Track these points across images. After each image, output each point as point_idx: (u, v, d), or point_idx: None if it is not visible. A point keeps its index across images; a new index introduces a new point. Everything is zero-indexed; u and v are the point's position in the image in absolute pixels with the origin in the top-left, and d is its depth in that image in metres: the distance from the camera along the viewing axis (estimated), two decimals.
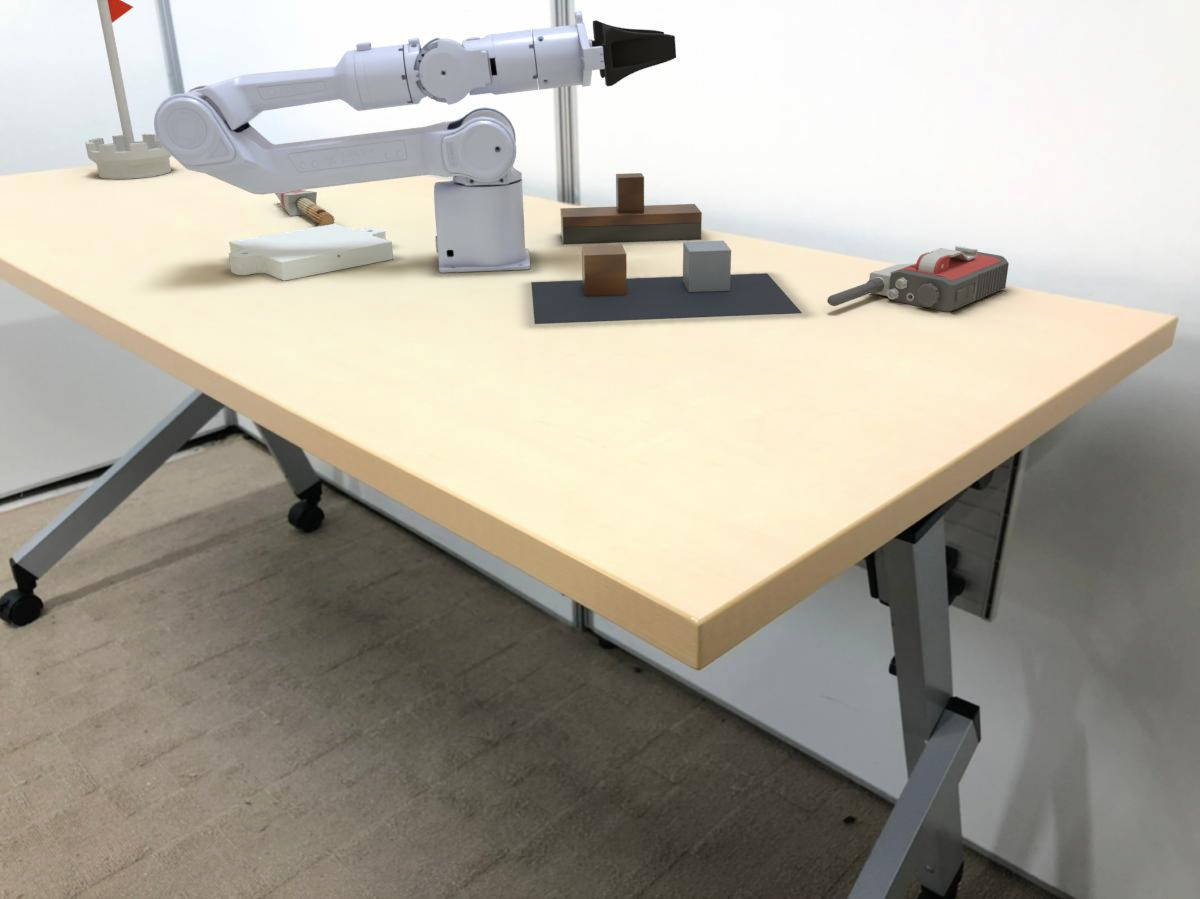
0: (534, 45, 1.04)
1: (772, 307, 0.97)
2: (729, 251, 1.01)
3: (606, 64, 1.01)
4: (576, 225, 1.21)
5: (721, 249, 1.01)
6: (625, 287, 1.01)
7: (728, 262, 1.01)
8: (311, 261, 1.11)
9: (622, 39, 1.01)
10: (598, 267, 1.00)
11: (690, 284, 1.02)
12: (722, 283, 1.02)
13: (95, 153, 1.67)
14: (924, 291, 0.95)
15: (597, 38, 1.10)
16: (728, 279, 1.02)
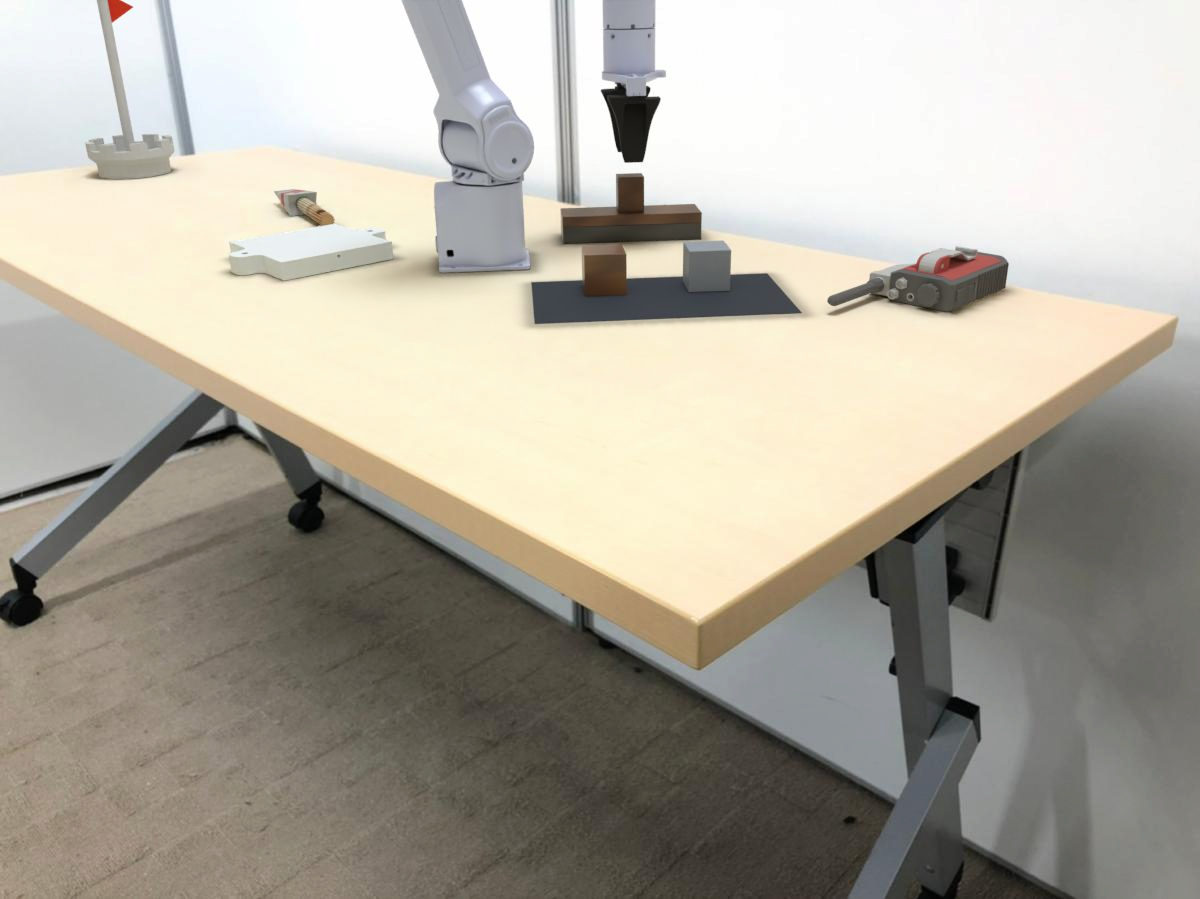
0: (645, 29, 1.13)
1: (772, 307, 0.97)
2: (729, 251, 1.01)
3: (628, 97, 1.12)
4: (576, 225, 1.21)
5: (721, 249, 1.01)
6: (625, 287, 1.01)
7: (728, 262, 1.01)
8: (311, 261, 1.11)
9: (647, 114, 1.14)
10: (598, 267, 1.00)
11: (690, 284, 1.02)
12: (722, 283, 1.02)
13: (95, 153, 1.67)
14: (924, 291, 0.95)
15: None
16: (728, 279, 1.02)
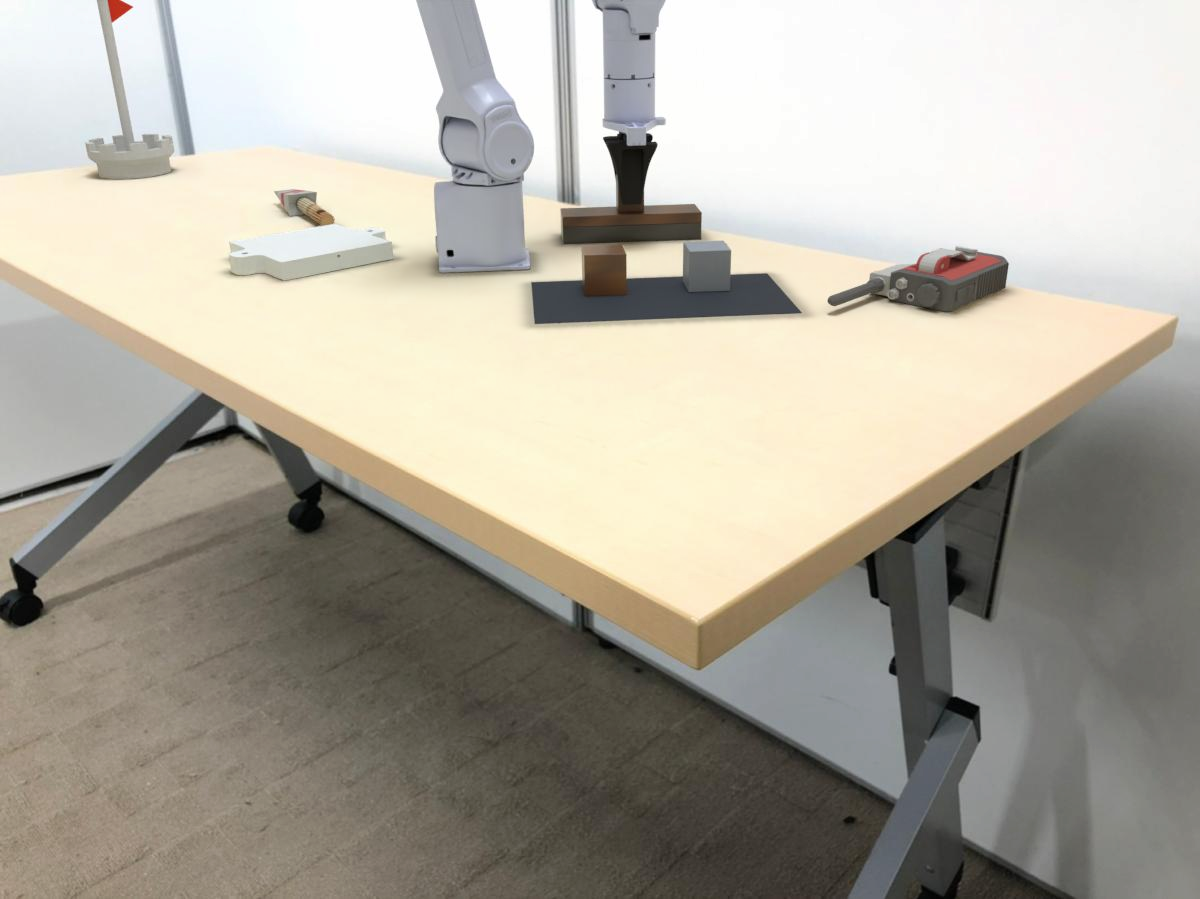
0: (645, 79, 1.15)
1: (772, 307, 0.97)
2: (729, 251, 1.01)
3: (626, 143, 1.16)
4: (576, 225, 1.21)
5: (721, 249, 1.01)
6: (625, 287, 1.01)
7: (728, 262, 1.01)
8: (311, 261, 1.11)
9: (644, 159, 1.18)
10: (598, 267, 1.00)
11: (690, 284, 1.02)
12: (722, 283, 1.02)
13: (95, 153, 1.67)
14: (924, 291, 0.95)
15: None
16: (728, 279, 1.02)
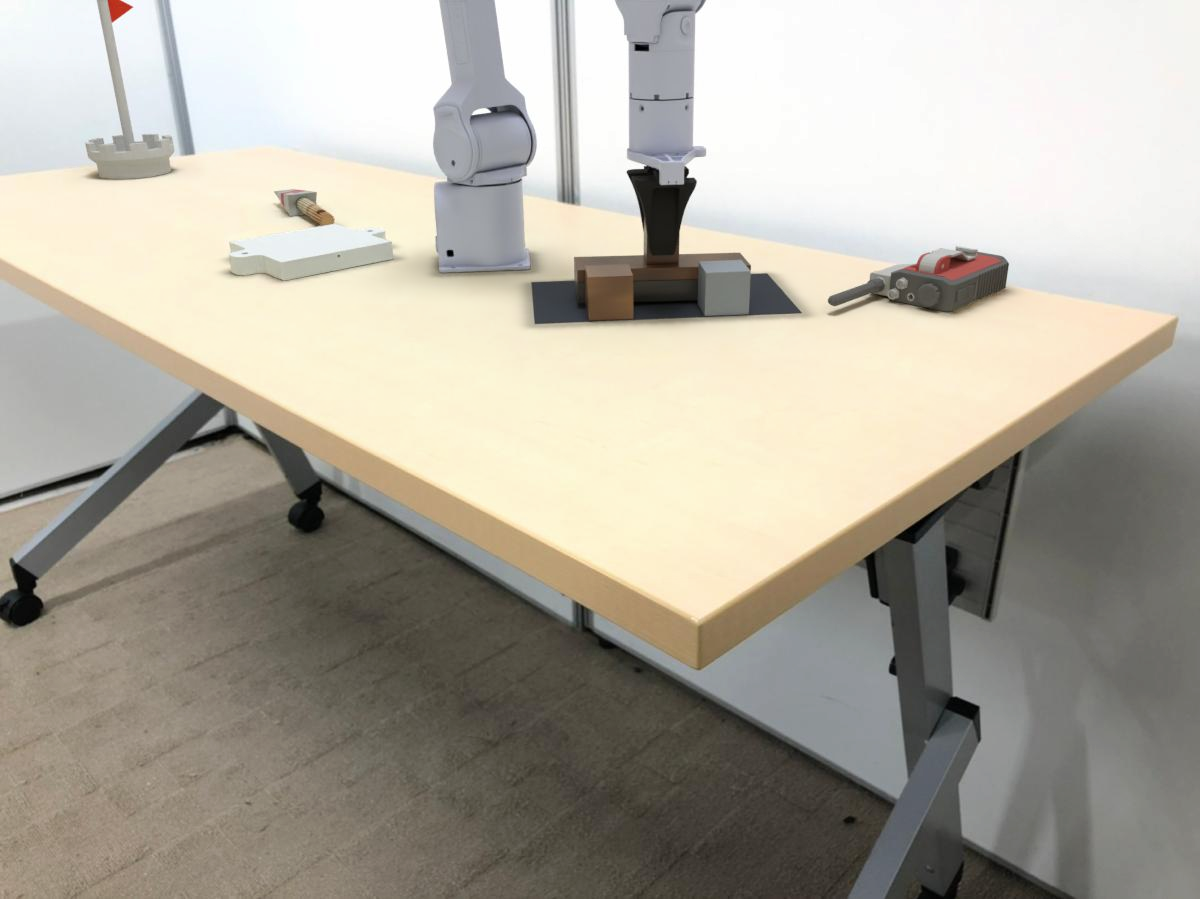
0: (682, 99, 0.91)
1: (772, 307, 0.97)
2: (748, 272, 0.93)
3: (658, 181, 0.92)
4: None
5: (740, 270, 0.94)
6: (632, 311, 0.94)
7: (747, 284, 0.94)
8: (311, 261, 1.11)
9: (680, 199, 0.94)
10: (603, 289, 0.93)
11: (706, 307, 0.94)
12: (741, 307, 0.95)
13: (95, 153, 1.67)
14: (925, 291, 0.95)
15: None
16: (747, 302, 0.95)
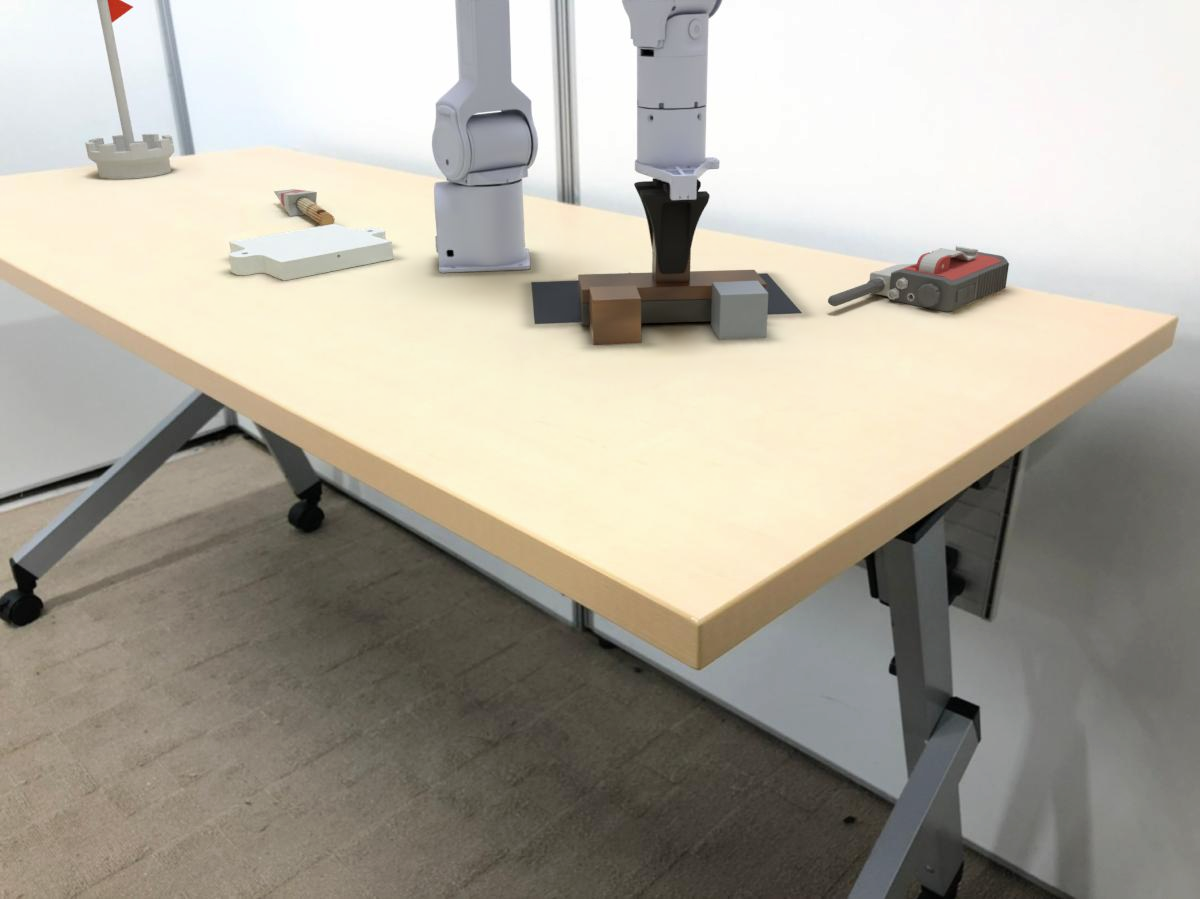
0: (694, 108, 0.85)
1: (772, 307, 0.97)
2: (766, 294, 0.88)
3: (668, 195, 0.86)
4: None
5: (757, 292, 0.88)
6: (639, 336, 0.88)
7: (765, 307, 0.88)
8: (311, 261, 1.11)
9: (691, 215, 0.88)
10: (609, 313, 0.87)
11: (721, 332, 0.89)
12: (757, 331, 0.89)
13: (95, 153, 1.67)
14: (925, 291, 0.95)
15: None
16: (764, 326, 0.89)
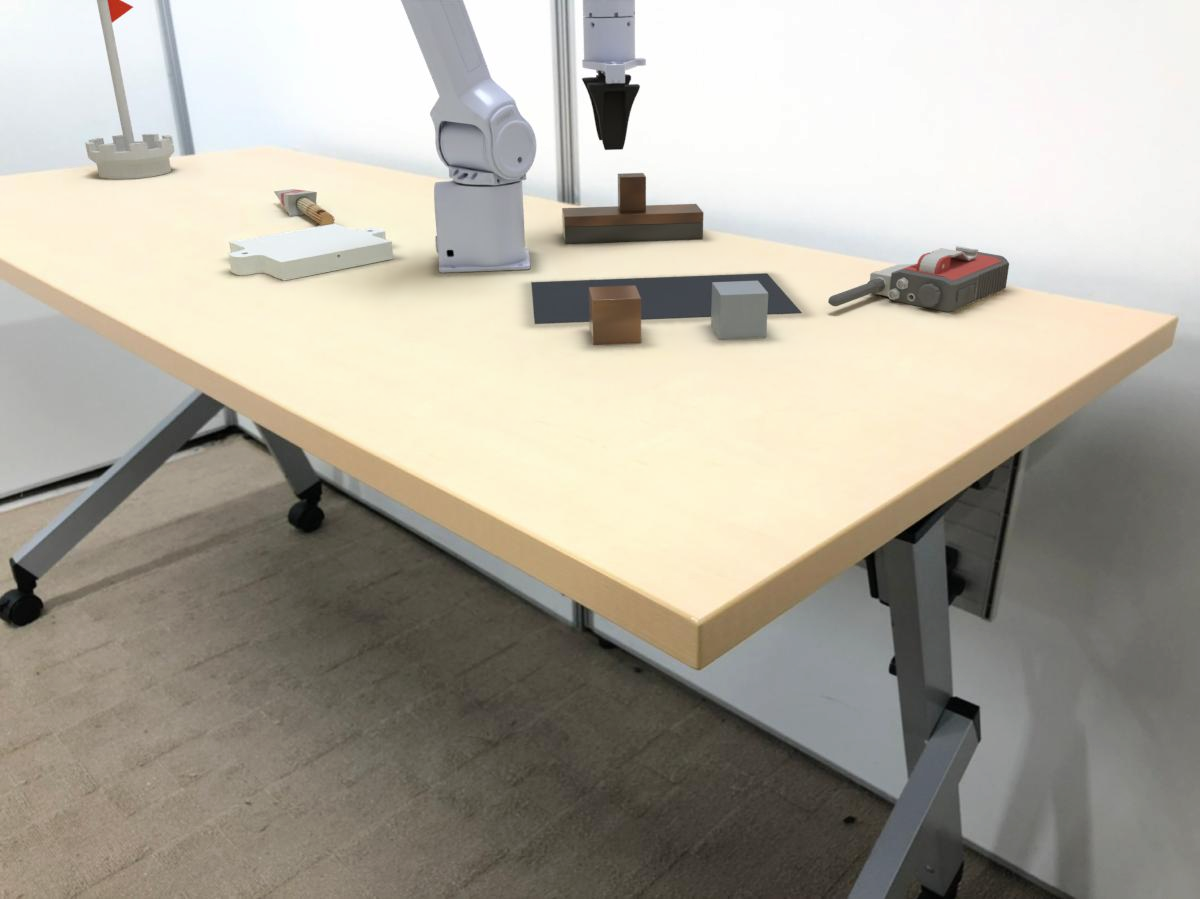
0: (624, 17, 1.14)
1: (772, 307, 0.97)
2: (766, 294, 0.88)
3: (608, 85, 1.14)
4: (578, 225, 1.21)
5: (757, 292, 0.88)
6: (639, 336, 0.88)
7: (765, 307, 0.88)
8: (311, 261, 1.11)
9: (626, 101, 1.15)
10: (609, 313, 0.87)
11: (721, 332, 0.89)
12: (758, 331, 0.89)
13: (95, 153, 1.67)
14: (925, 291, 0.95)
15: None
16: (764, 326, 0.89)
